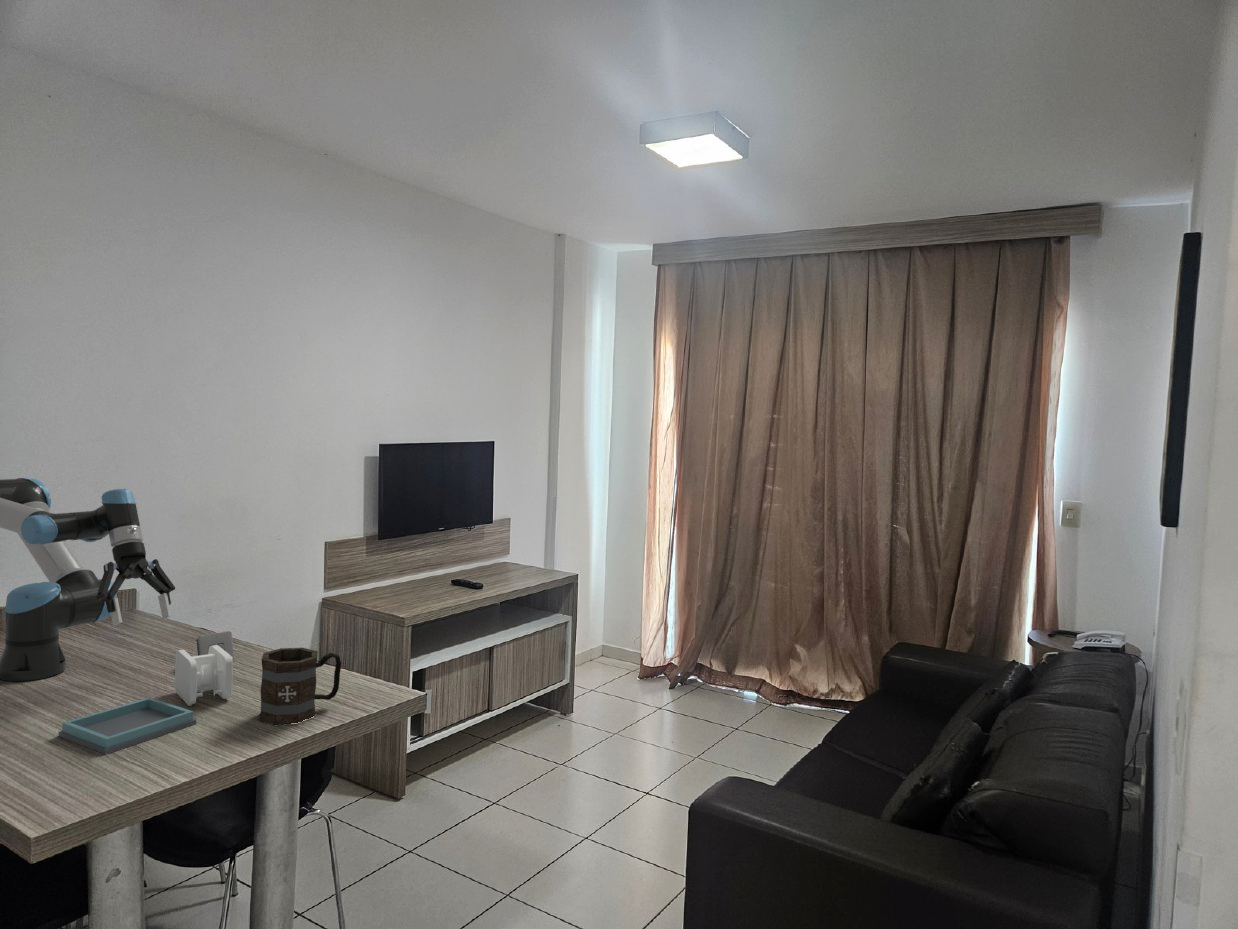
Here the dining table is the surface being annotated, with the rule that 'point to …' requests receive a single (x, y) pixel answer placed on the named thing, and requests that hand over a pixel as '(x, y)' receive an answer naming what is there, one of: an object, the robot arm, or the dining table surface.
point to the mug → (292, 684)
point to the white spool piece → (203, 674)
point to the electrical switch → (215, 643)
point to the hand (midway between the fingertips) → (143, 620)
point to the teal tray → (126, 725)
